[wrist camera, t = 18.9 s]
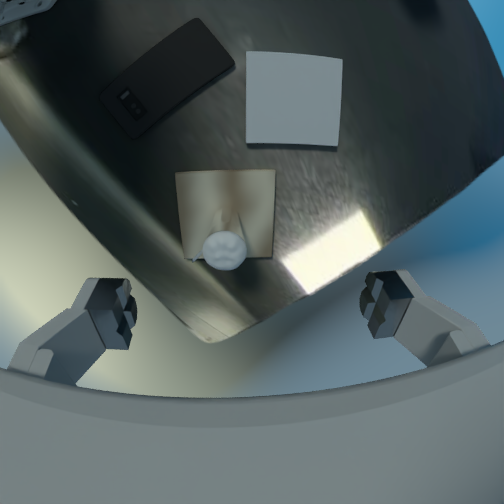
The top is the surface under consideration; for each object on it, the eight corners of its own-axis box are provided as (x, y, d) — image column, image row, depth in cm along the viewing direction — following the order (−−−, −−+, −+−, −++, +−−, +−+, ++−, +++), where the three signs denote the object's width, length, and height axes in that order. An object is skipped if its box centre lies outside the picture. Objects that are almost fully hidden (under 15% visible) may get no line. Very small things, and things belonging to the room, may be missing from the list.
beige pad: (185, 255, 40) (184, 258, 39) (176, 172, 34) (175, 174, 33) (271, 253, 41) (271, 256, 40) (274, 169, 34) (275, 171, 34)
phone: (236, 63, 27) (132, 141, 30) (236, 64, 28) (136, 139, 32) (196, 15, 23) (96, 96, 27) (198, 18, 24) (101, 96, 28)
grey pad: (245, 141, 32) (246, 142, 32) (246, 52, 26) (246, 51, 26) (335, 144, 33) (337, 146, 32) (340, 60, 27) (342, 59, 26)
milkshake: (202, 200, 35) (191, 240, 26) (245, 202, 35) (248, 242, 27) (202, 233, 37) (193, 279, 29) (243, 234, 38) (246, 281, 29)
